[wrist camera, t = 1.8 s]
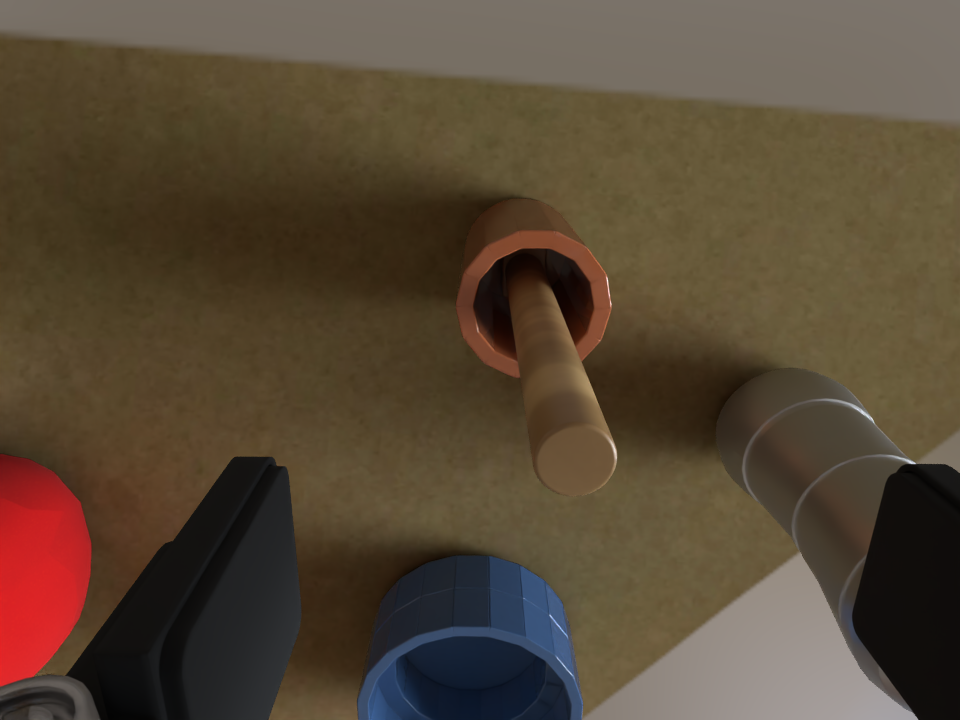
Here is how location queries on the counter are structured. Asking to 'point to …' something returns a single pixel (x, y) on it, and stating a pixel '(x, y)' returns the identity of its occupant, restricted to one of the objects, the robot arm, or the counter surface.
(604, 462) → the stirring stick
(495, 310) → the crock
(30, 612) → the tomato
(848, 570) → the silver metal bottle
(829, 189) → the counter surface
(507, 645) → the bowl
